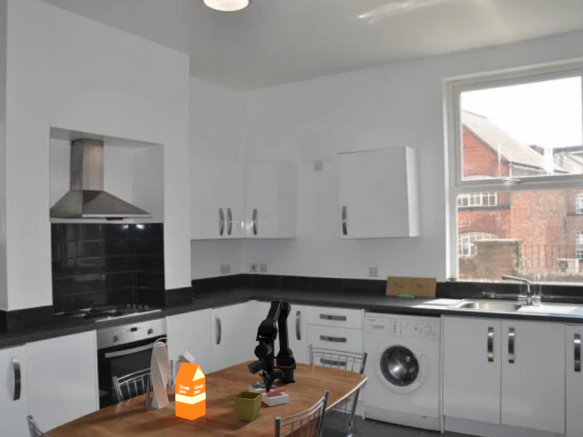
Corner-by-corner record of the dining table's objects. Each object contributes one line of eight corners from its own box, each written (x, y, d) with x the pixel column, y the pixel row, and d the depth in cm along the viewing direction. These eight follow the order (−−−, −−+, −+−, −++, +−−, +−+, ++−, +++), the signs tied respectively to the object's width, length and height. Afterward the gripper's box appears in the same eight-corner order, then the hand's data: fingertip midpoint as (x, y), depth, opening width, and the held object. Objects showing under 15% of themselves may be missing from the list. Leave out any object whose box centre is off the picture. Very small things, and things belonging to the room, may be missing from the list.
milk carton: (195, 392, 237) (195, 349, 238) (191, 397, 230) (190, 353, 231) (180, 392, 238) (180, 349, 239) (175, 397, 231) (175, 353, 232)
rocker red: (282, 389, 226) (281, 386, 226) (285, 391, 223) (285, 388, 223) (265, 393, 222) (264, 390, 222) (268, 395, 219) (268, 392, 219)
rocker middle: (274, 387, 232) (275, 384, 232) (278, 389, 229) (278, 386, 229) (258, 386, 229) (258, 384, 229) (261, 388, 226) (262, 386, 226)
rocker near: (267, 380, 239) (267, 378, 238) (271, 382, 235) (270, 379, 235) (251, 385, 235) (251, 383, 235) (255, 388, 232) (254, 385, 232)
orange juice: (192, 420, 202) (191, 367, 203) (175, 416, 207) (175, 364, 207) (205, 414, 209) (205, 362, 209) (189, 410, 213) (188, 360, 214)
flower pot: (263, 416, 205) (262, 392, 206) (254, 423, 197) (254, 399, 197) (242, 413, 208) (242, 390, 209) (232, 421, 200) (232, 397, 200)
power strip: (261, 386, 246) (261, 379, 246) (289, 402, 221) (289, 395, 221) (243, 389, 241) (243, 382, 241) (270, 406, 217) (269, 398, 217)
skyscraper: (160, 402, 225) (160, 336, 226) (174, 405, 220) (173, 338, 221) (145, 408, 218) (144, 339, 219) (158, 411, 213) (157, 341, 214)
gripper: (241, 351, 226) (241, 388, 226) (259, 360, 210) (259, 400, 209) (265, 349, 231) (265, 385, 231) (284, 357, 215) (284, 396, 214)
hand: (267, 391), depth 221 cm, fingers closed
